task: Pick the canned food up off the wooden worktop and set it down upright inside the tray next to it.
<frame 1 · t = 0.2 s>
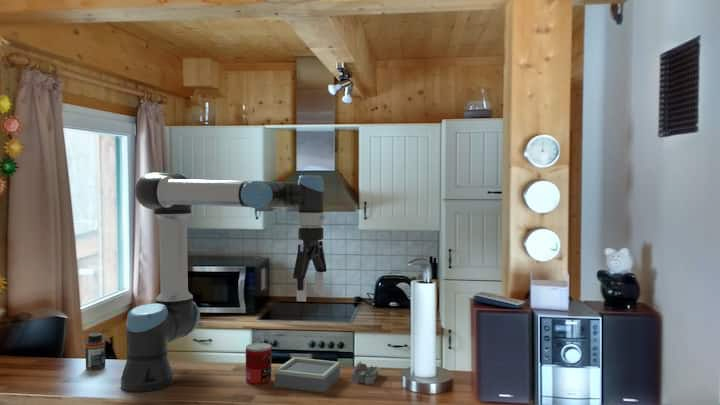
hand: (310, 297, 171), 27 cm above the countertop, fingers open, 13 cm apart
egg carton: (365, 379, 180), on the countertop
canned food: (258, 381, 177), on the countertop
tray: (308, 382, 176), on the countertop
supplement bottle: (95, 368, 189), on the countertop
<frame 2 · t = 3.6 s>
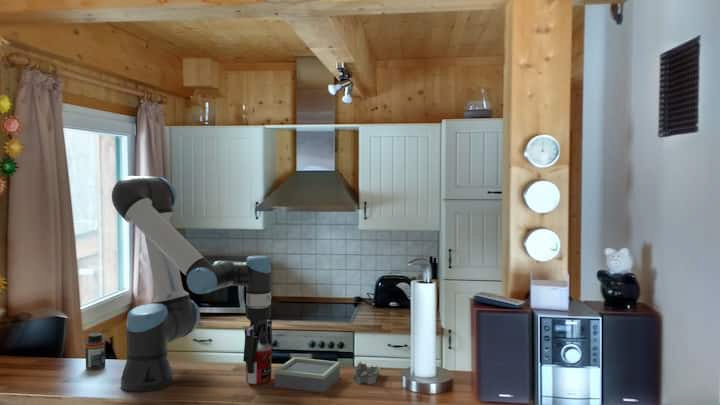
hand: (258, 378, 177), 1 cm above the countertop, fingers closed on canned food, 8 cm apart
canned food: (258, 381, 177), on the countertop, touching gripper
everything else where it was.
when the fingers open (6 cm above the countertop, at t = 9.3 s): canned food drops 1 cm, resting on tray.
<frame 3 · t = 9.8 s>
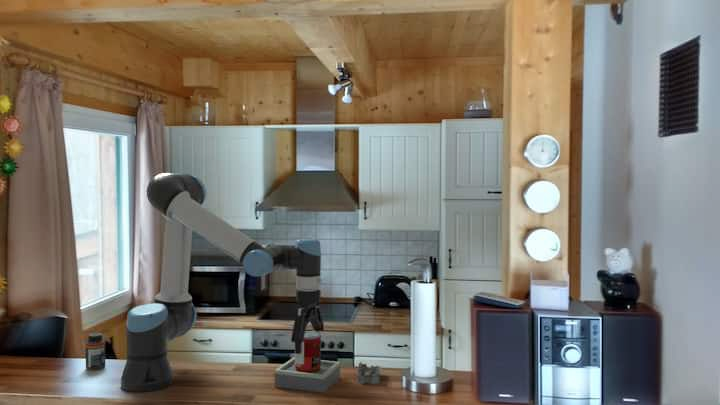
hand: (308, 357, 176), 8 cm above the countertop, fingers open, 13 cm apart
canned food: (307, 369, 176), point 4 cm above the countertop, touching tray
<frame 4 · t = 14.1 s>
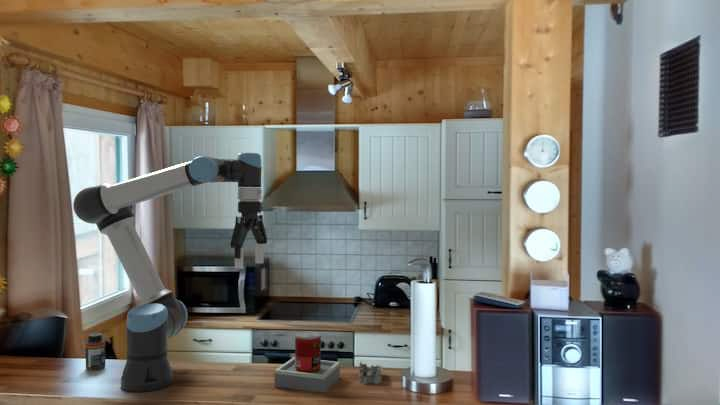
hand: (249, 266, 185), 35 cm above the countertop, fingers open, 13 cm apart
at the end: canned food 0.1 cm off-centre on the tray, point 3.8 cm above the tray's base; canned food tilted 0°; the gripper is holding nothing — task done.
